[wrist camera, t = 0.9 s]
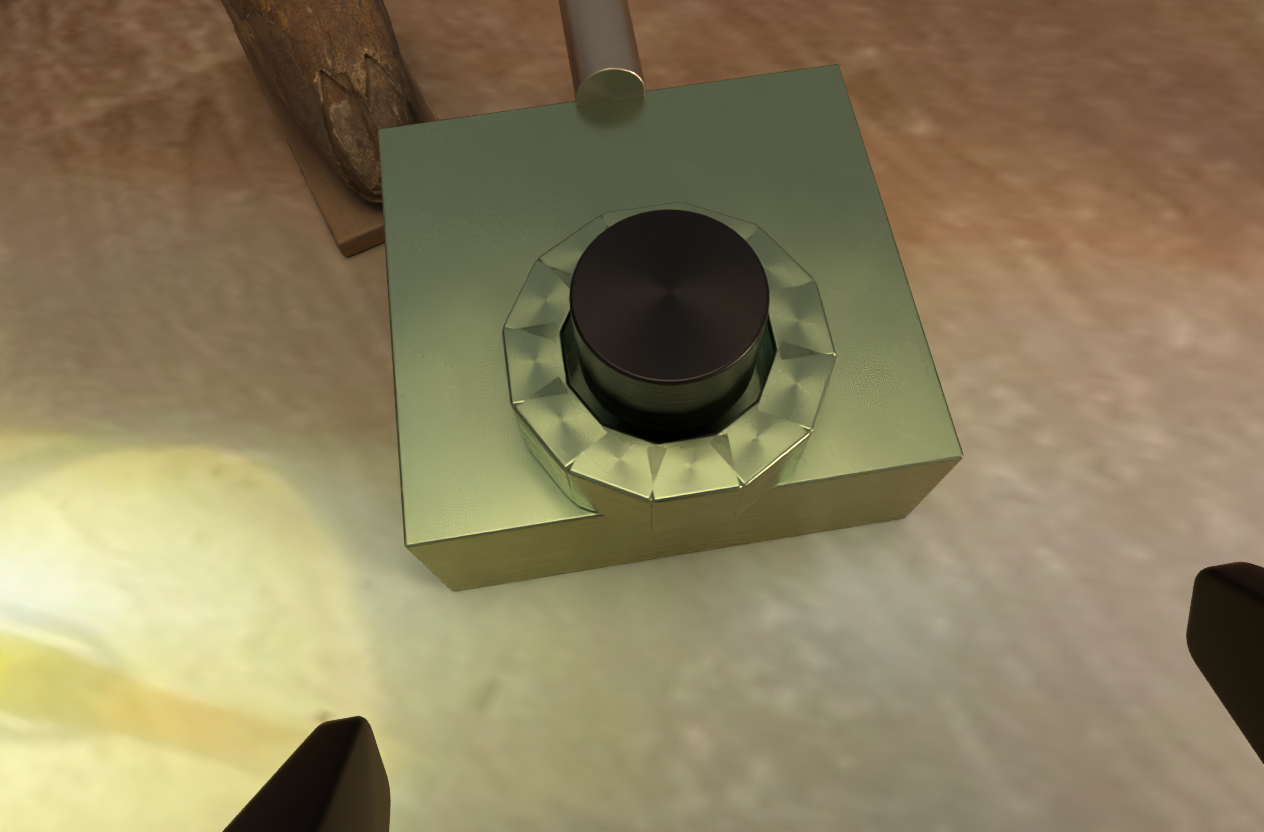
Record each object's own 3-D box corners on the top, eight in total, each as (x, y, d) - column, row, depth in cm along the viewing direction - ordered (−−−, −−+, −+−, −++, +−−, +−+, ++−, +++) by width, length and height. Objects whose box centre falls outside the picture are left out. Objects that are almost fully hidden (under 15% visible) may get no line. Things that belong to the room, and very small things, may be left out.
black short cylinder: (773, 417, 18) (790, 366, 15) (591, 446, 17) (583, 398, 15) (736, 262, 19) (746, 194, 17) (567, 287, 19) (557, 222, 17)
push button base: (912, 538, 23) (1012, 445, 17) (453, 613, 23) (374, 547, 16) (808, 178, 28) (856, -7, 21) (421, 234, 27) (349, 63, 21)
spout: (646, 114, 24) (645, 64, 22) (578, 124, 23) (573, 74, 22) (625, 13, 25) (622, -42, 23) (561, 22, 25) (554, -32, 23)
